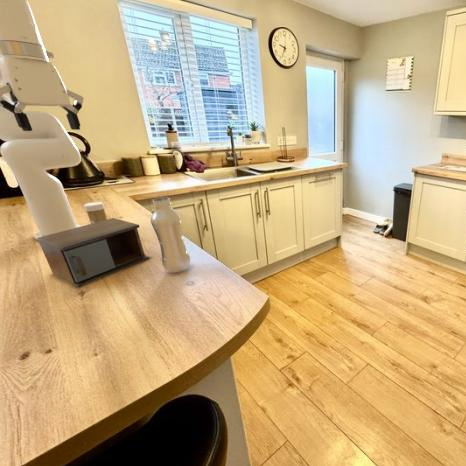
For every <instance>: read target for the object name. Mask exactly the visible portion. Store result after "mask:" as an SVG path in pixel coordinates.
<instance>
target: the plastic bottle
mask: <svg viewBox="0 0 466 466" xmlns="http://www.w3.org/2000/svg"><path fill="white" fill-rule="evenodd" d="M152 206H153V208H154V211H153V213H152V215H151V217H150V224H151V226H152V228H153V230H154V232H155V233H154V234H155V235H156V238H157V240H158V243H159V246H160V252H161V264H162V267H163V269H164V270H165V271H166V272H168V273H169V274H170V273H171V274H175V273H180V272H184V271H186V270H188V269H189V268H190V266H191V256H190V254H189V252H188V250H187V248H186V244H185V242H184V238H183V231H182V219H181V216H180V213H178V212H177V211H176V210H175V209H174V208H173V207H172V202H171V198H170V197H168V196H163V197H162V196H161V197H157V198H153V199H152Z"/></svg>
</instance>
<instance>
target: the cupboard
mask: <svg viewBox="0 0 466 466" xmlns="http://www.w3.org/2000/svg"><path fill="white" fill-rule="evenodd" d="M107 219H108V218H107ZM138 228H140V224H137V223H134V222H130V221H126V220H122V219H119V218H115V217H112V218H109V219H108V220H104V221H100V222H96V223H92V224H91V223H89V224H86V225H82V226H81V227H77V228H73V229H70V230H66V231H62V232H58V233H54V234H50V235H47V236H43V237H39V238H37V239H38V240H37V241H38V243H39V245H40V249H41V251H42V253H43V255H44V258H45V259H46V261H47V264H48V266H49V268H50V271H51V273H52V276H55V277H57V278H59V279H61V280H63V281H66V282H67V283H69V284H72V285H74V286H76V287H79V288H80V287H83V286H85V285H87V284H90V283H92V282H94V281H97V280H100V279H102V278H105V277H108V276H109V275H112V274H115V273H118V272H120V271H122V270H125V269H127V268H129V267H132V266H135V265H137V264H139V263H142V262H145V261H147V260H149V259H150V256H147V255H146V254H145V251H144V247H143V244H142V240H141V237H140V233H139V229H138ZM102 239H106V241H107V244H108V247H109V250H110V253H111V256H112V259H113V262H114V265H115V268H113V269H111V270H108V271H105V272H103V273H100V274H98V275H95V276H93V277H90V278H88V279H85V280H83V281H80V282H76V281H75V279H74V276H73V274H72V271H71V269H70V266H69V264H68V261H67V259H66V257H65V254H64V252H63V251H66V250H69V249H72V248H76V247H79V246H82V245H85V244H89V243H92V242H95V241H98V240H102Z"/></svg>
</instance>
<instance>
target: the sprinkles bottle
mask: <svg viewBox="0 0 466 466" xmlns="http://www.w3.org/2000/svg"><path fill="white" fill-rule="evenodd" d="M83 208H84V210H85V212H86V214H87V216H88V219H89V224H92V223H96V222H100V221H104V220H108V216H107V213H106V211H105V205H104V203H103V202H102V201H94V202H93V201H92V202H88V203H85V204H84V205H83Z"/></svg>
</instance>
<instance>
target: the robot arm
mask: <svg viewBox="0 0 466 466" xmlns="http://www.w3.org/2000/svg"><path fill="white" fill-rule="evenodd" d="M1 54H2V55H1ZM54 58H55V55H54V53H53V52H51V51H48V50H47V49H46V47H45V46H44V43H43V41H42V37H41V35H40V31H39V28H38V26H37V23H36V19H35V17H34V14H33V11H32V7H31V6H30V3H29V1H28V0H0V140H2V141H3V143H2V144H1V145H0V154H1V157H2V158H3V160H4V162H5V163H6V165H7V166H8V167H9V169H10V171H11V172H12V174H13V176H14V177H15V179H16V181H17V184H18V185H19V188H20V190H21V192H22V194H23V197H24V199H25V202H26V204H27V206H28V208H29V212H30V213H31V216H32V218H33V220H34V223H35V224H36V228H37V229H38V232H36V233H35V234H34V239H35V240H36V241H38V239H37V238H39V237H43V236H47V235H50V234H54V233H58V232H62V231H66V230H70V229H73V228H77V227H81V226H83V224H77V221H76V218H75V215H74V212H73V210H72V208H71V204H70V202H69V199H68V196H67V194H66V191H65V188H64V186H63V184H62V182H61V181H60V179H58V178H57V177H56V176H54V175H52V174H50V173H49V172H47V171H48V170H55V169H63V168H70V167H71V168H72V167H76V166H78V165H79V164H80V163H81V162H82V156H81V153H80V150H79V148H78V147H77V145H76V144H75V142H74V141H73V139H72V137H71V136H70V135H69V133H68V132H67V130H66V129H65V127H64V126H63V124H62V123H61V122H60V120H59V119H58V118H57V117H56V116H55V115H54V114H52V113H50V112H48V111H41V110H24V109H26V106H34V107H35V106H36V107H37V106H38V107H60V108H61V109H63V110H64V111H66V115H65V116H66V119H67V121H68V124H69V127H70V130H72V131H73V130H74V131H76V130H77V131H80V130H81V122H80V120H79V117H78V114H79V111H81V109H82V108H83V103H84V97H83V95H80V94H78V93H76V92H73V91H72V90H69V89H67V88H66V86H65V83H64V82H63V80H62V77H61V75H60V74H59V71H58V69H57V68H56V66H55V64H54V63H53V62H52V61H49V60H50V59H54ZM6 94H7V95H6ZM70 98H71V99H73V100H74V103H73V104H71V100H70Z"/></svg>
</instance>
